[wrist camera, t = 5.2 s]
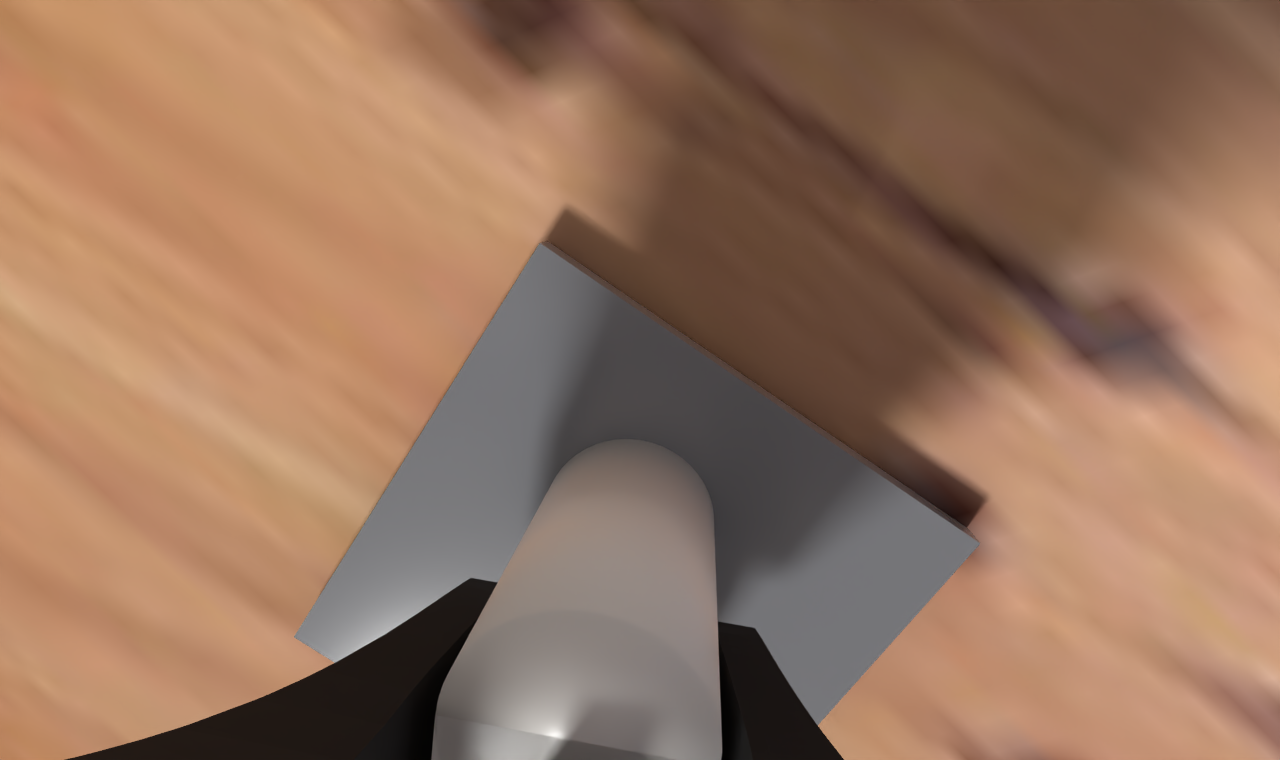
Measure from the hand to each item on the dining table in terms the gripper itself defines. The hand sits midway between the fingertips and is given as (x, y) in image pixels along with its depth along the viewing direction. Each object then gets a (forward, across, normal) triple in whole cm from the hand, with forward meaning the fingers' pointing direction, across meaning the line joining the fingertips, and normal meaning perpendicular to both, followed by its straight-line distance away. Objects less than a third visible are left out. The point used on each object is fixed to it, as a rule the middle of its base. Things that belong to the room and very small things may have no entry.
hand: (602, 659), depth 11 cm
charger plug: (+2, 0, 0) cm, 2 cm away
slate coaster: (+3, 0, 0) cm, 3 cm away
